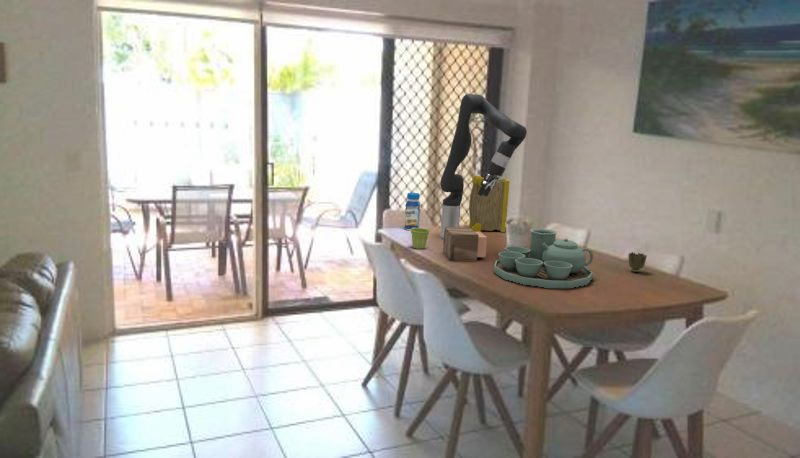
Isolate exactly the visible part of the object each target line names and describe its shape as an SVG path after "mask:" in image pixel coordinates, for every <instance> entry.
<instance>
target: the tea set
mask: <svg viewBox="0 0 800 458" xmlns="http://www.w3.org/2000/svg"><path fill="white" fill-rule="evenodd" d="M529 231H530V244H529V248H527V247H522V246H506V247H504V251H500V252H498V258H499V259H498V260H495V263H494V266H493V272H494V274H495V275H496V276H498V277H500V278H501V279H503V280H504V281H508V280H509V282H511V281H513V282H512V283H515V282H516V284H518V283H520V284H519V285H522V284H523V285H522V286H526V285H531V286H530V287H534V286H538V287H537V288H541V287H544V288H543V289H570V288H571V289H575V288H574V287H576V288H580V287H579V286H581V287H584V285H585V286H588V284H589V283H590V282H591V281H590V280H592V279H593V278H594V277H593V276H594V272H593V271H591V270H590V269H589V268H588V267H587V266H590V264H591V263H592V261H593V259H594V255H593V252H592V251H591V249H589V248H586V247H584V248H580V247H578V243H577V242H575V241H573V240H569V239H568V238H563V239H557V240H556V235H557V234H558V231H556V230H553V229H547V228H531V229H530V230H529ZM585 251H586V252H588V253H589V255H590V258H589V260H588V261H587V262H586V260H587V259H586V254H585Z"/></svg>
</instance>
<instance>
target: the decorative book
mask: <svg viewBox="0 0 800 458" xmlns="http://www.w3.org/2000/svg"><path fill="white" fill-rule="evenodd" d="M483 179H484V177H482V176H481V175H472V181H471V182H472V183H471V184H472V187H471V191H470V195H469V203H468V204H469V205H468V211H469V225H468V226H469V227H468V228H471V229H472V230H473V231H475V232H481V233H482V231H489V232H492V231H494V230H497V231H500V233H505V232H506V229H505V222H506V223H507V217H508V203H509V193H510V192H509V191H510V180H509V179H507V178H503V177H501V178H500V179H498V180H497V182H496V184H495V186H494V188H493V189H492V190H491V191H490V193H489V195H488V196H487V197H486V196H484V195H482V196H480V195H478V192H479V190H480V188H481V182H482V181H483Z"/></svg>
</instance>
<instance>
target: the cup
mask: <svg viewBox="0 0 800 458" xmlns="http://www.w3.org/2000/svg"><path fill="white" fill-rule="evenodd" d="M647 257H648V255H647V254H644V253H641V252H638V253H637V254H636V253H635V252H633V251H631V252H629V253H628V266H629V268H631V269H630V270H631V272H632V271H634V272H633V273H635V272H639V273H640V272H641V270H642V269H643V268H644V267H645V264H646V262H647Z"/></svg>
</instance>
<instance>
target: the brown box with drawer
mask: <svg viewBox="0 0 800 458" xmlns="http://www.w3.org/2000/svg"><path fill="white" fill-rule="evenodd" d="M478 236H479V235H478V234H477V233H476V232H475V231H473V230H472V229H471V228H469V227H460V226H459V227H445V231H444V238H443V249H442V250H443V251H442V253H443V254H444V255H445V256H446V258H448V260H449V261H450V262H477V261H478V257H477V250H478Z"/></svg>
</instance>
